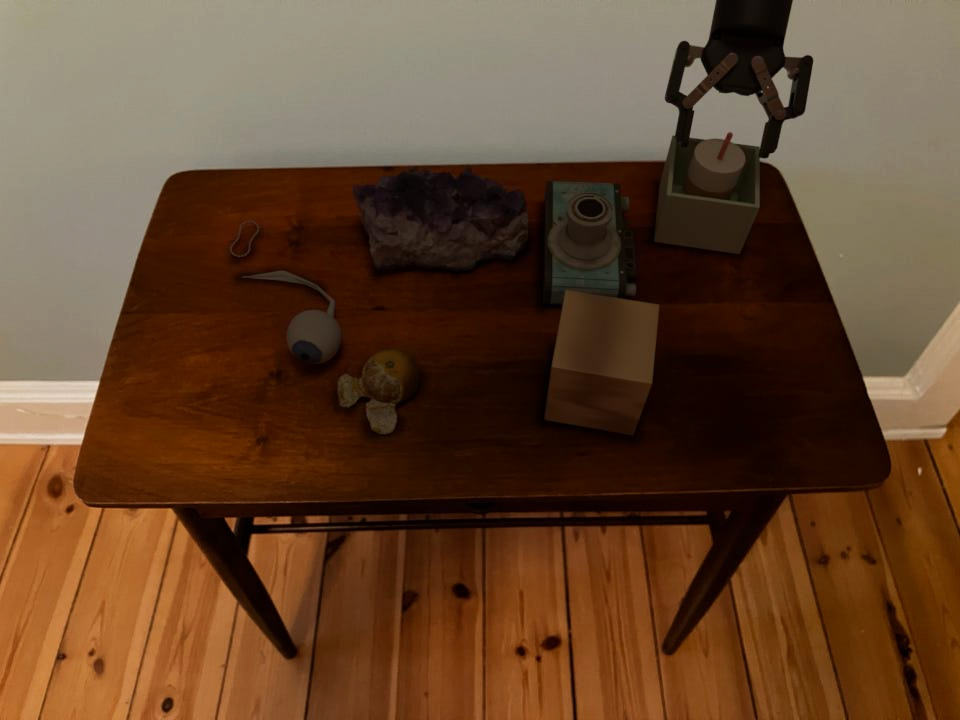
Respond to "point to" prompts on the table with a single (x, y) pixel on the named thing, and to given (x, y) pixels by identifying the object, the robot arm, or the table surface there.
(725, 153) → the paper cup
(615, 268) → the camera
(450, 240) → the geode
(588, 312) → the stand
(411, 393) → the fruit
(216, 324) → the table surface
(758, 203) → the bin
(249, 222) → the necklace
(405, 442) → the table surface
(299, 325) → the novelty item
